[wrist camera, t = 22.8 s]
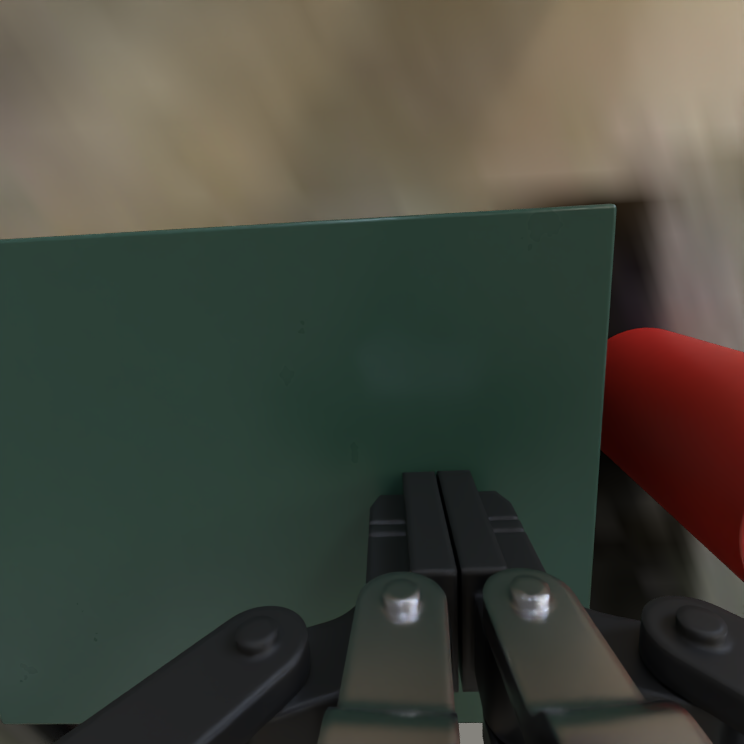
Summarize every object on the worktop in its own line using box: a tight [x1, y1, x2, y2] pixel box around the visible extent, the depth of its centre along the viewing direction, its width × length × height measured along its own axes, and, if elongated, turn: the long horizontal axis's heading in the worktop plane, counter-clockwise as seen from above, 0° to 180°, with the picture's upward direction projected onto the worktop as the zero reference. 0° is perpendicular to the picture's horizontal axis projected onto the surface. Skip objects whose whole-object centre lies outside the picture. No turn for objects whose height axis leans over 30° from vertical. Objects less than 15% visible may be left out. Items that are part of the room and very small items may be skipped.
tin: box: [600, 328, 744, 582], centre depth 14 cm, size 5×5×9 cm
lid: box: [0, 204, 616, 724], centre depth 12 cm, size 16×13×1 cm
